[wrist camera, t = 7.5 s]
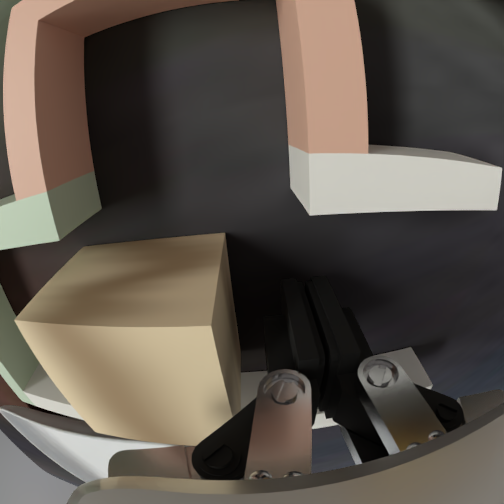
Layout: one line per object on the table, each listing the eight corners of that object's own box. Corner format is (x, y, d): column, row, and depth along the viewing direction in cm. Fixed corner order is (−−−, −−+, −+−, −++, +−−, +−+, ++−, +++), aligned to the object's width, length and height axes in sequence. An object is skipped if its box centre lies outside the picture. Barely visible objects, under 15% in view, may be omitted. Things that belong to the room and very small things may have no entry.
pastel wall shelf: (436, 3, 6) (478, -14, 3) (403, 364, 14) (423, 401, 11) (-48, 101, 6) (-83, 108, 3) (38, 371, 14) (22, 401, 11)
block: (225, 232, 10) (211, 325, 5) (240, 352, 13) (240, 446, 8) (83, 246, 10) (13, 319, 6) (125, 352, 13) (95, 432, 8)
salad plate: (192, 406, 15) (186, 452, 12) (251, 487, 25) (252, 510, 21) (5, 384, 16) (-8, 407, 13) (106, 474, 26) (102, 492, 23)
